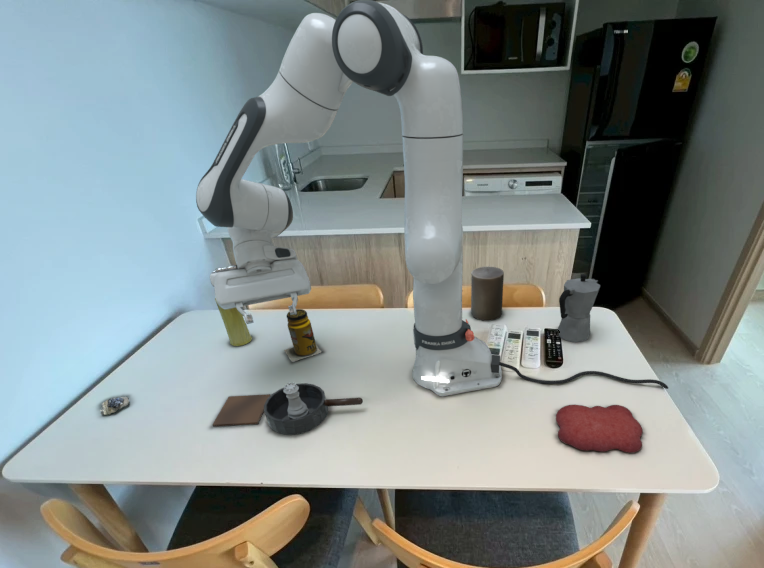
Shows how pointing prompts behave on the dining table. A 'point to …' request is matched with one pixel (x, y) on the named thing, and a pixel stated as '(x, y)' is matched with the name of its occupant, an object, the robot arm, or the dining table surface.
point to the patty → (599, 428)
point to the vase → (235, 326)
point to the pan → (285, 425)
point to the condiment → (301, 336)
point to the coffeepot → (577, 308)
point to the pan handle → (343, 401)
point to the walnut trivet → (241, 410)
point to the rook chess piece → (294, 401)
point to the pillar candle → (487, 293)
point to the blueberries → (113, 405)
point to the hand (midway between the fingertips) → (272, 318)
